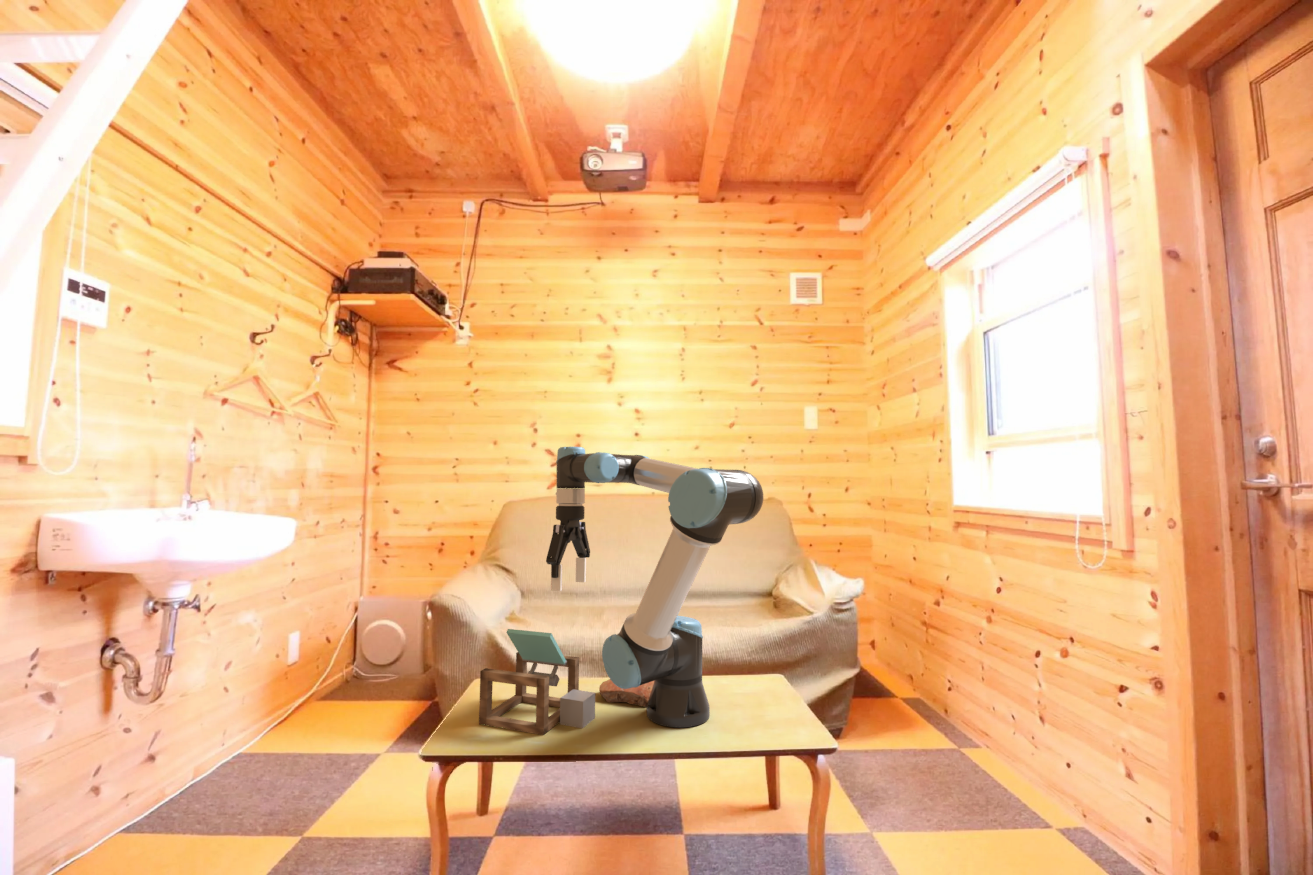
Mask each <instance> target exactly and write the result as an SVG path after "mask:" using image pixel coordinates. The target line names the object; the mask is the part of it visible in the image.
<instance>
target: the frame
mask: <svg viewBox="0 0 1313 875" xmlns="http://www.w3.org/2000/svg"><path fill="white" fill-rule="evenodd" d="M515 654H516V655H515V671H511V670H503V669H494V668H487V667H486V668H483V669H481V670H480V671H479V672H480V673H479V674H480V675H479V676H480V678H479V679H480V681H479V707H478V708H479V710H478V711H479V712H478V724H479V725H480V724H485V725H484V726H486V725H489V726H488V727H492V726H495V727H494V728H498V727H503V728H502V729H504V728H507V729H506V730H511V731H518V732H522V733H523V732H524V733H529V734H534V735H540V736H541V735H542V736H545V735H546V734H547V733H548V732H549V731H550V730H552V729H553V728H554V727H555V726H557V725H558V724H560V698H561V697H558V696H550V686H549V676H542V675H534V674H528V672H527V671H528V663H532V664H533V663H537V665H538V664H539V665H540V664H541V665H549V666H554V665H555V664H547V663H539V662H530V661H523V660H522V657H521V656H520V654H519V652H518V651H517V652H516V653H515ZM563 656H564V657H565V659H566V661H567V666H564V665H555V666H558V667H564V668H565V667H566V668H568V669H567V693H568V692H570V691H571V690H573V689H575V690H580V688H579V686H580V657H578V656H571V655H570V656H569V655H563ZM494 682H495V683H501V684H502V683H503V684H509V685H515V689H514V691H515V693H514V694H515V695H513V696H510V697H509V698H508V699H506V700H505V701H504V702H501V703H500V704H499V705H497V706H496V707H494V708H493V683H494ZM527 687H530V688H536V694H535V693H527ZM521 703H526V704H527V703H528V704H533V705H535V706H536V708H535V711H536V712H535V721H529V720H523V719H517V718H510V717H504V715H505V714H506V713H507V712H509V711H510V710H512V709H513V708H515V707H517V706H518V705H520V704H521ZM549 707H554V708H558V709H557V710H556V711H554V712H553V713H552V714H550V715H549Z"/></svg>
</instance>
